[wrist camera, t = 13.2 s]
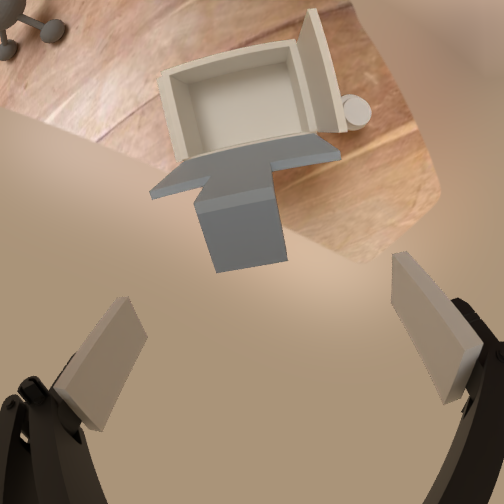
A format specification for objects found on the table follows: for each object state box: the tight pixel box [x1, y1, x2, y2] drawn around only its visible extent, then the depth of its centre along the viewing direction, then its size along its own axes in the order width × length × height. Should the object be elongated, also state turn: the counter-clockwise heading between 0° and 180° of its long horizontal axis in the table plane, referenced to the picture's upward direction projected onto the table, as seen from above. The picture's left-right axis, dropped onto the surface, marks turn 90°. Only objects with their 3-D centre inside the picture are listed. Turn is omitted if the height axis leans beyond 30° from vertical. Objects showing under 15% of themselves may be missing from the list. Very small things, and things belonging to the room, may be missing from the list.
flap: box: [149, 133, 341, 273], centre depth 27 cm, size 20×17×5 cm
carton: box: [156, 8, 348, 162], centre depth 32 cm, size 14×20×22 cm
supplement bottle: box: [341, 94, 371, 131], centre depth 37 cm, size 5×5×10 cm
